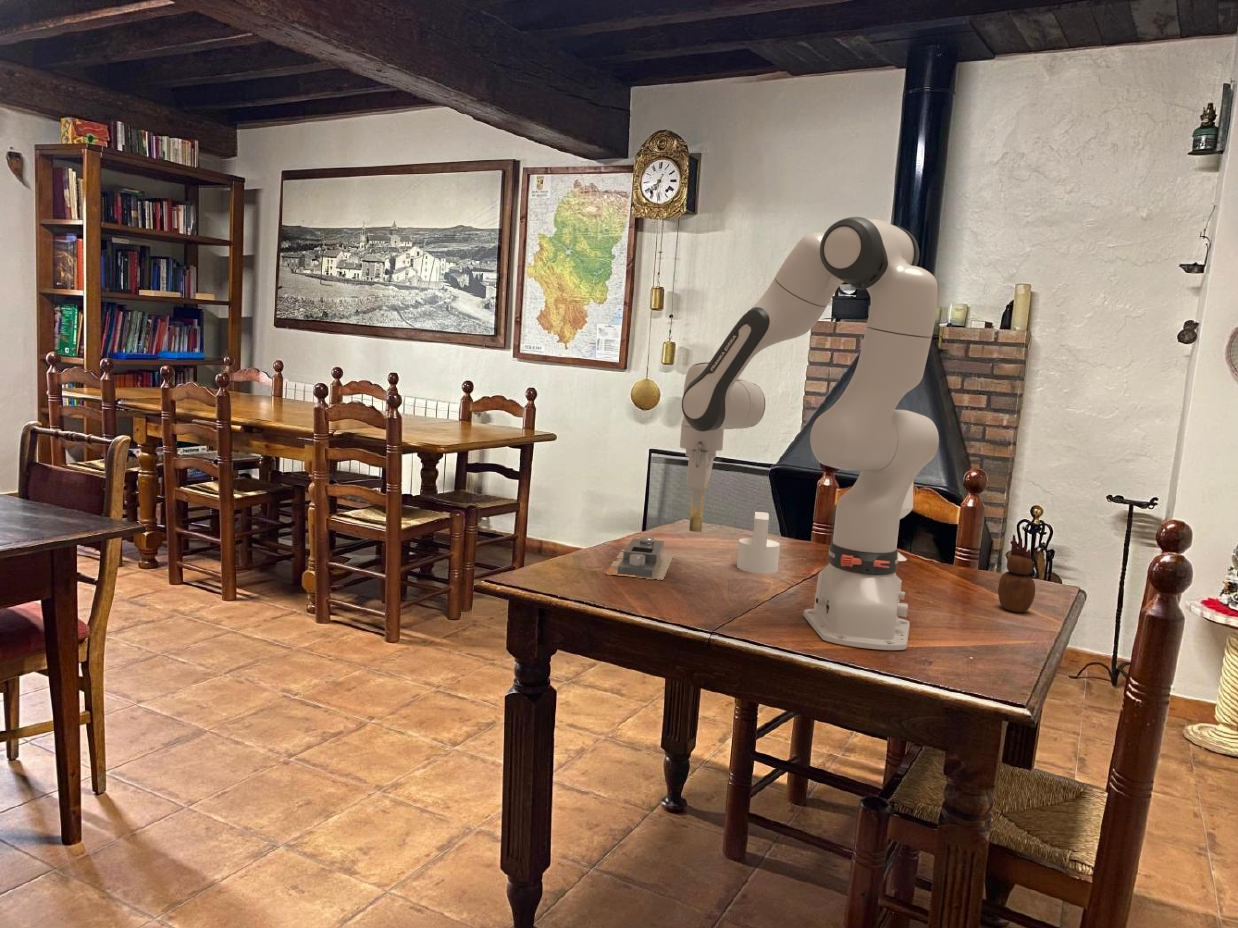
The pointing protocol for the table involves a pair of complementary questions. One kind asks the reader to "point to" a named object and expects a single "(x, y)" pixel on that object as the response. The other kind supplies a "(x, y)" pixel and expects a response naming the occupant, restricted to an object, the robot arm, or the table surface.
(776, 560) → the cylinder with rectangular tab
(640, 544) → the two-knob base plate
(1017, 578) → the wooden figurine
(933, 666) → the table surface
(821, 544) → the table surface
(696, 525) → the brass pin
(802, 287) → the robot arm
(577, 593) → the table surface
